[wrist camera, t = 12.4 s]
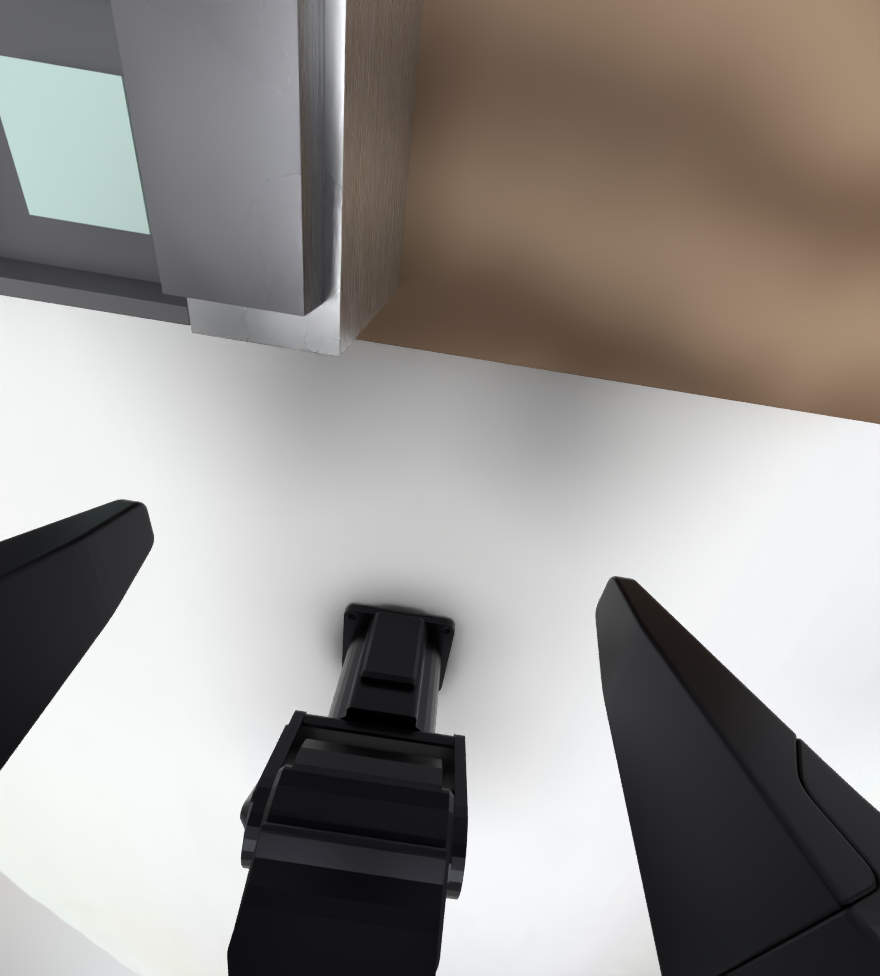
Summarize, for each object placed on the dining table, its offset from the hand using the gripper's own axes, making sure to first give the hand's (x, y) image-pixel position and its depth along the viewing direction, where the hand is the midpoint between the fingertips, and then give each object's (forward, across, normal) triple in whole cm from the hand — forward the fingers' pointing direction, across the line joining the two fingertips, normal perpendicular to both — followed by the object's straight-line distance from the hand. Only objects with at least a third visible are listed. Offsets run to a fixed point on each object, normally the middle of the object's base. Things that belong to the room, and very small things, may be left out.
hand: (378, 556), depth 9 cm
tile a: (+12, +12, -6) cm, 17 cm away
